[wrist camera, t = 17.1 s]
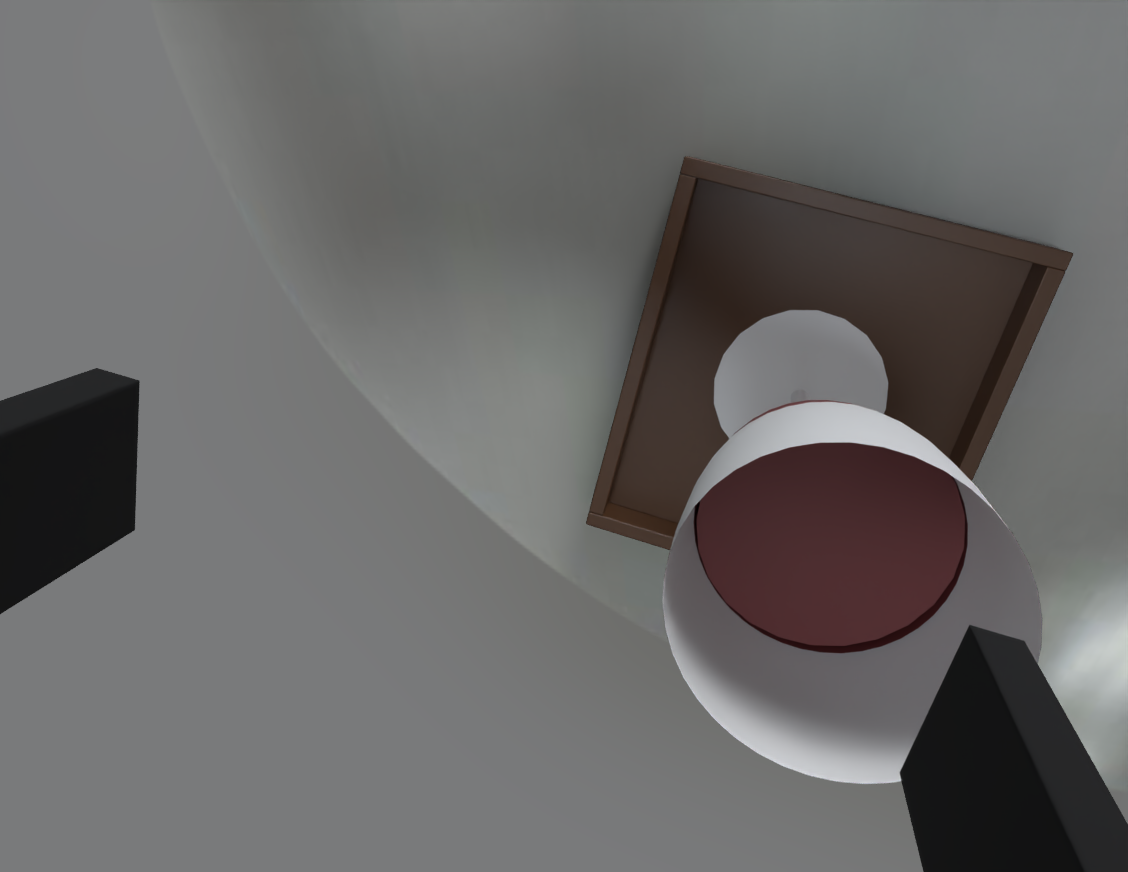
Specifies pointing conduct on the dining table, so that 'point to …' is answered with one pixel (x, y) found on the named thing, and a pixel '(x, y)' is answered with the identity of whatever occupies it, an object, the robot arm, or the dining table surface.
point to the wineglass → (831, 559)
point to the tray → (829, 284)
